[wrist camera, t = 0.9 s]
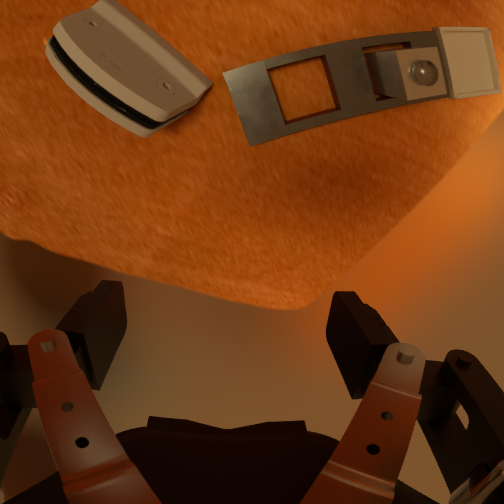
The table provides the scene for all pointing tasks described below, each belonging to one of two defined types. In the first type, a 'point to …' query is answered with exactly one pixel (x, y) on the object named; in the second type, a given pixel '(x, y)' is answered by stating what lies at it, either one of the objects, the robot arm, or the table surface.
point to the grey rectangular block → (406, 72)
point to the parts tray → (469, 61)
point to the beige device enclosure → (124, 68)
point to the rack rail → (339, 78)
